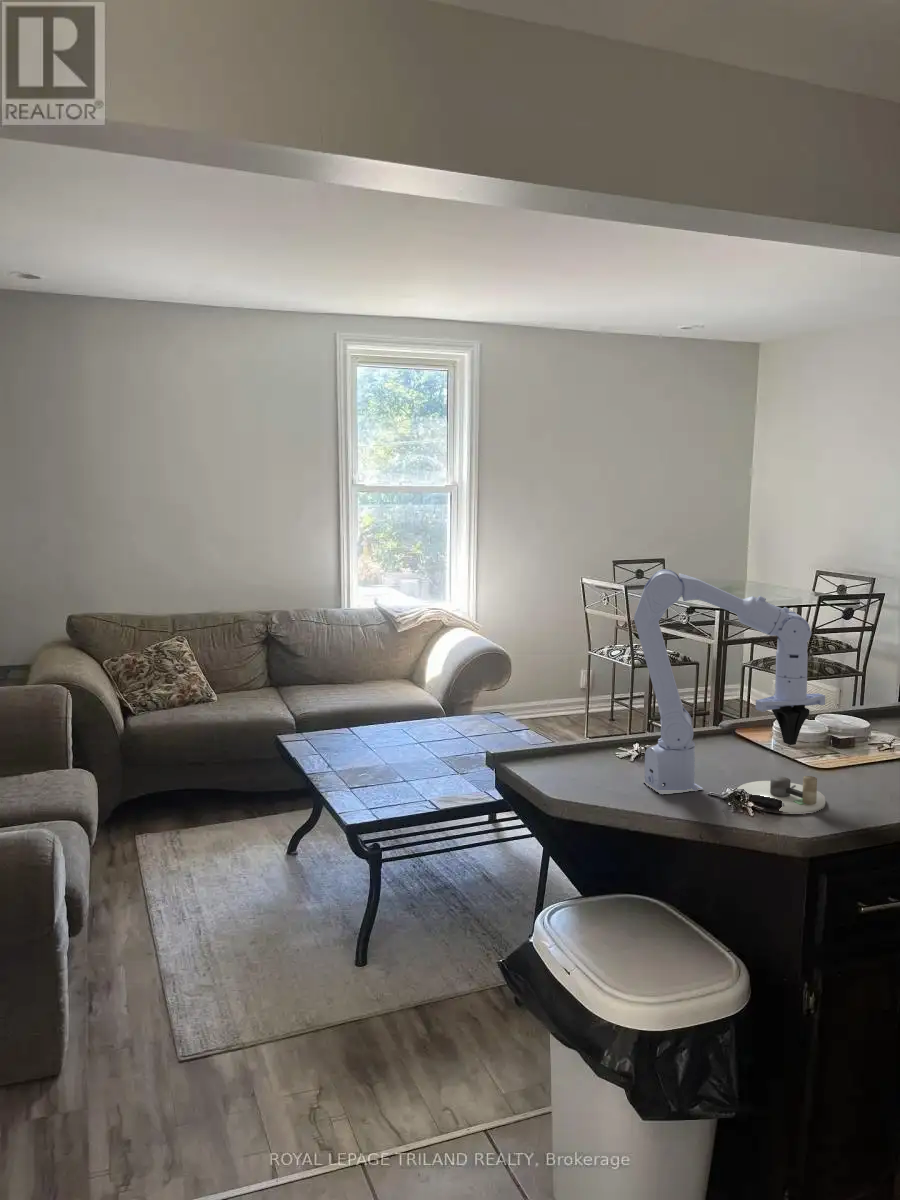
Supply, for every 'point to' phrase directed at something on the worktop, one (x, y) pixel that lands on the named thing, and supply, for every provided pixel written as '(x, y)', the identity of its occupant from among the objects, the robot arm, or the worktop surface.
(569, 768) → the worktop surface
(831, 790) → the worktop surface
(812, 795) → the crank handle
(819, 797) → the dial plate
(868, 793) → the worktop surface
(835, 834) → the worktop surface
